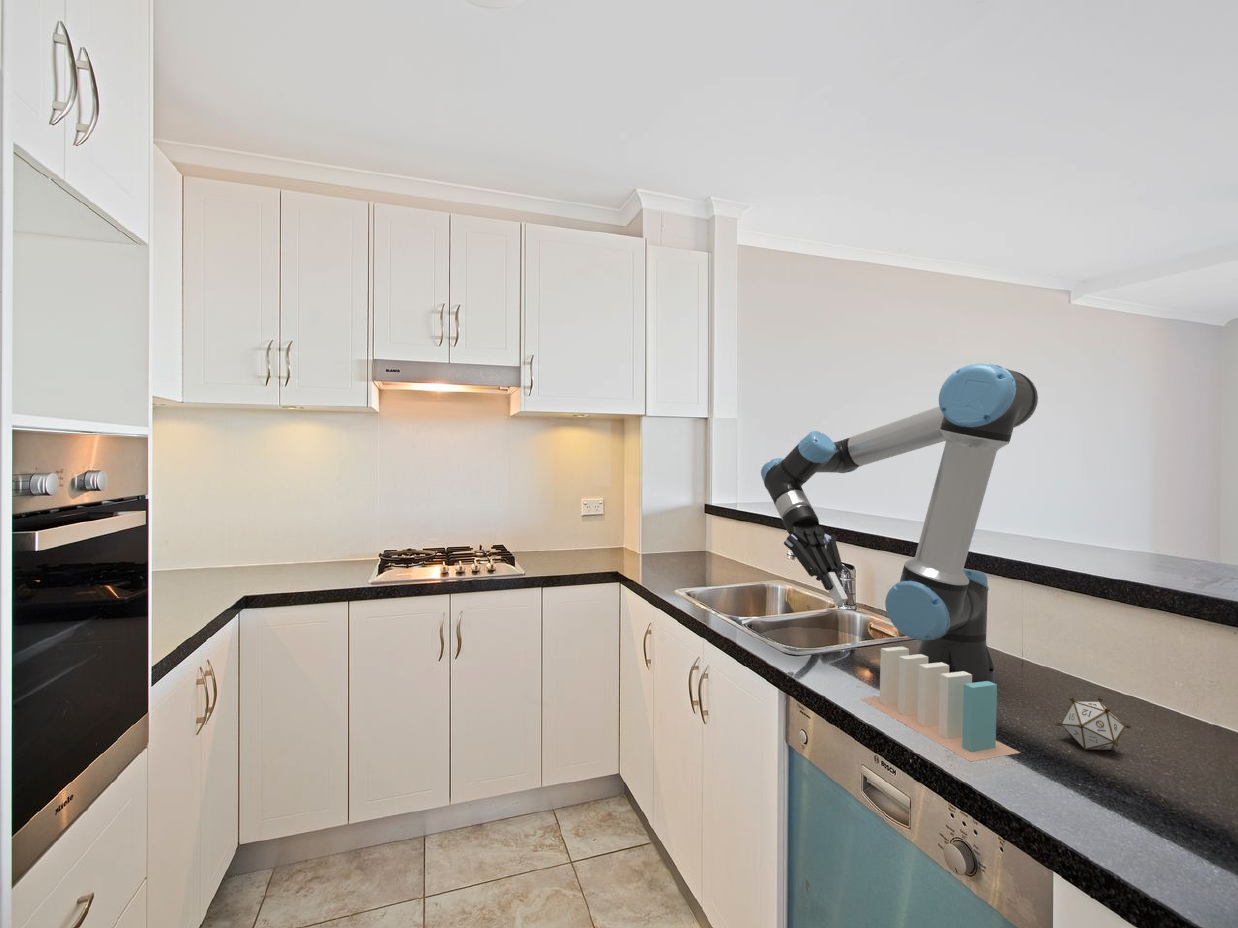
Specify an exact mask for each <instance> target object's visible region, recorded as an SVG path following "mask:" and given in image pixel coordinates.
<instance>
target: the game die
mask: <svg viewBox="0 0 1238 928" xmlns="http://www.w3.org/2000/svg"><path fill="white" fill-rule="evenodd" d="M1069 700H1070V701H1071V704H1070V706H1068V709H1067V711H1066V714H1065V715H1064V717H1063V718H1062V720H1061V722H1056V723H1054V725H1055V726H1057V727H1058V726H1059V727H1060V726H1061V727H1063V729H1064V730H1065V731H1066V732H1067V733H1068V735H1070V736H1071V737H1072V738H1073V739H1074V740H1075V741H1076V742H1077V743H1078V745H1080V746H1081V747H1082V748H1083V751H1084V752H1087V751H1089V750H1091V751H1111V752H1114V753H1116V752H1117V751H1116V750H1115V749H1114V748H1115V746H1116V747H1119V746H1120V743H1119V742H1118V741H1119V740H1120V737H1122V734H1123V732H1124V730H1125V729H1131V728H1132V727H1133V726H1132V725H1130V724H1124V723H1123V722H1122V721H1121V720H1120V719H1119V718H1118V717H1117V716H1116V715H1115V714H1114V713H1113V712H1111V709H1110V708H1109V707H1107V706H1105V704H1104V703H1102V701H1103V698H1102V696H1100V697H1098V699H1097V700H1093V701H1092V700H1091V701H1090V700H1088V701H1087V700H1075V698H1074V697H1072V696H1069Z"/></svg>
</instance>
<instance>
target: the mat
mask: <svg viewBox="0 0 1238 928" xmlns="http://www.w3.org/2000/svg"><path fill="white" fill-rule="evenodd" d="M860 701H863V702H865V703H866V704H867V705H869V706H872V707H873V708H875V709H876V710H879V711H880V712H882V713H884V714H885V715H887V716H889V717H890V718H892V719H895V720H896V721H898V722H900V723H901V724H903V725H904V726H907V727H909V728H910V729H912V730H914V731H915V732H917V733H919V734H921V735H923V736H924V737H926V738H928V739H930V740H932V742H935V743H937V744H938V745H941V746H942V747H944V748H945V749H947V750H949V751H951V752H953V753H954V754H956V755H957V756H960V757H961V758H964V759H965V760H966V761H968V762H970V763H971V762H976V761H982V760H988V759H993V758H1000V757H1006V756H1010V755H1015V754H1021V752H1020V751H1018V750H1017V749H1014V748H1012V747H1010V746H1008V745H1006V744H1004V743H1002V742H1000V741H999V740H996V748H993V749H987V750H981V751H975V752H970V751H968V750H966V749H964V748H962V737H956V738H950V739H946V738H944V737H942V736H940V735H939V725H934V726H927V727H924V726H922V725H920V724H919V723H917V717H918V714H914V715H907V716H904V715H902V714H900V713H898V704H894V705H884V704H882V703H880V695H879V696H873V697H864V698H860Z"/></svg>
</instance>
